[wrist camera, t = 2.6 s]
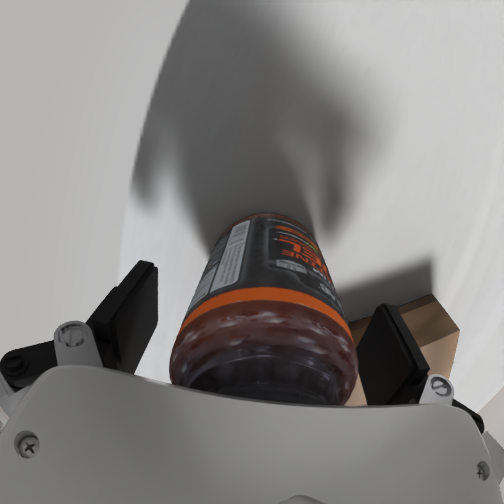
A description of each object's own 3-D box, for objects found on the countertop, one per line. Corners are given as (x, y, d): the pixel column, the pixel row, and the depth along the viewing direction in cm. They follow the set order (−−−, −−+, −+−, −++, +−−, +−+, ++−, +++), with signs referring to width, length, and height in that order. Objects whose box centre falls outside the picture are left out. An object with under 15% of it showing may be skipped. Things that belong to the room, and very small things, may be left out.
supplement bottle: (341, 254, 15) (423, 440, 5) (273, 321, 17) (272, 501, 7) (257, 185, 14) (231, 361, 4) (193, 267, 16) (113, 449, 6)
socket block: (432, 293, 16) (459, 329, 12) (418, 409, 22) (428, 437, 18) (212, 356, 19) (202, 400, 15) (275, 446, 25) (275, 476, 21)
